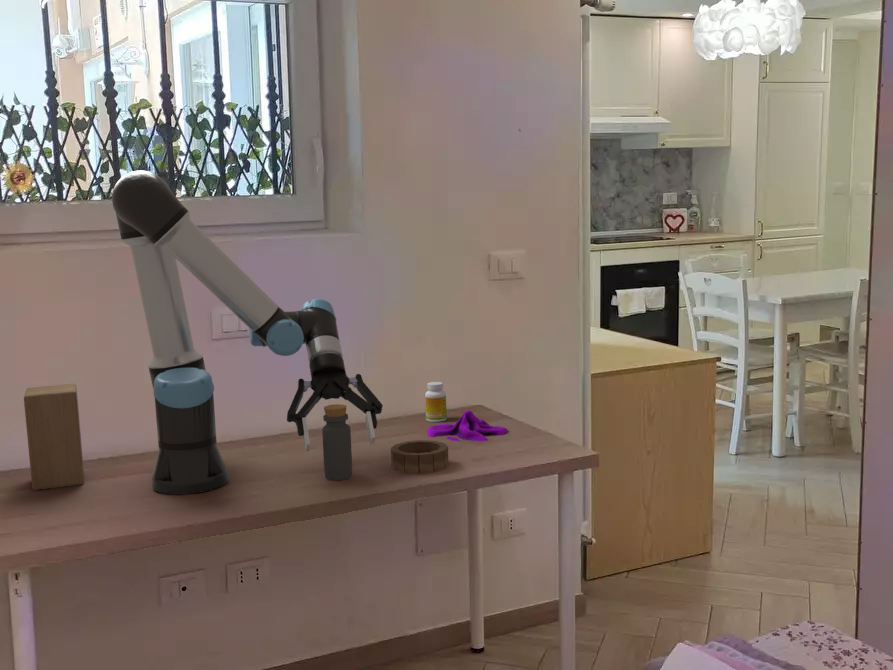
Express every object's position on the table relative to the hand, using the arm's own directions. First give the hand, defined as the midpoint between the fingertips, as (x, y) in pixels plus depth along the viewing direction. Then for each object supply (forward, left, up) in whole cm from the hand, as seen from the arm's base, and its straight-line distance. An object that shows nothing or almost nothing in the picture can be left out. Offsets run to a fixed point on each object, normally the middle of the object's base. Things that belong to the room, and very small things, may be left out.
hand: (340, 444), depth 200 cm
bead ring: (+17, +3, -7) cm, 19 cm away
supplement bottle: (+31, +43, -7) cm, 54 cm away
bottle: (-1, +1, -7) cm, 7 cm away
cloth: (+35, +26, -8) cm, 45 cm away
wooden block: (-58, +19, -7) cm, 61 cm away
